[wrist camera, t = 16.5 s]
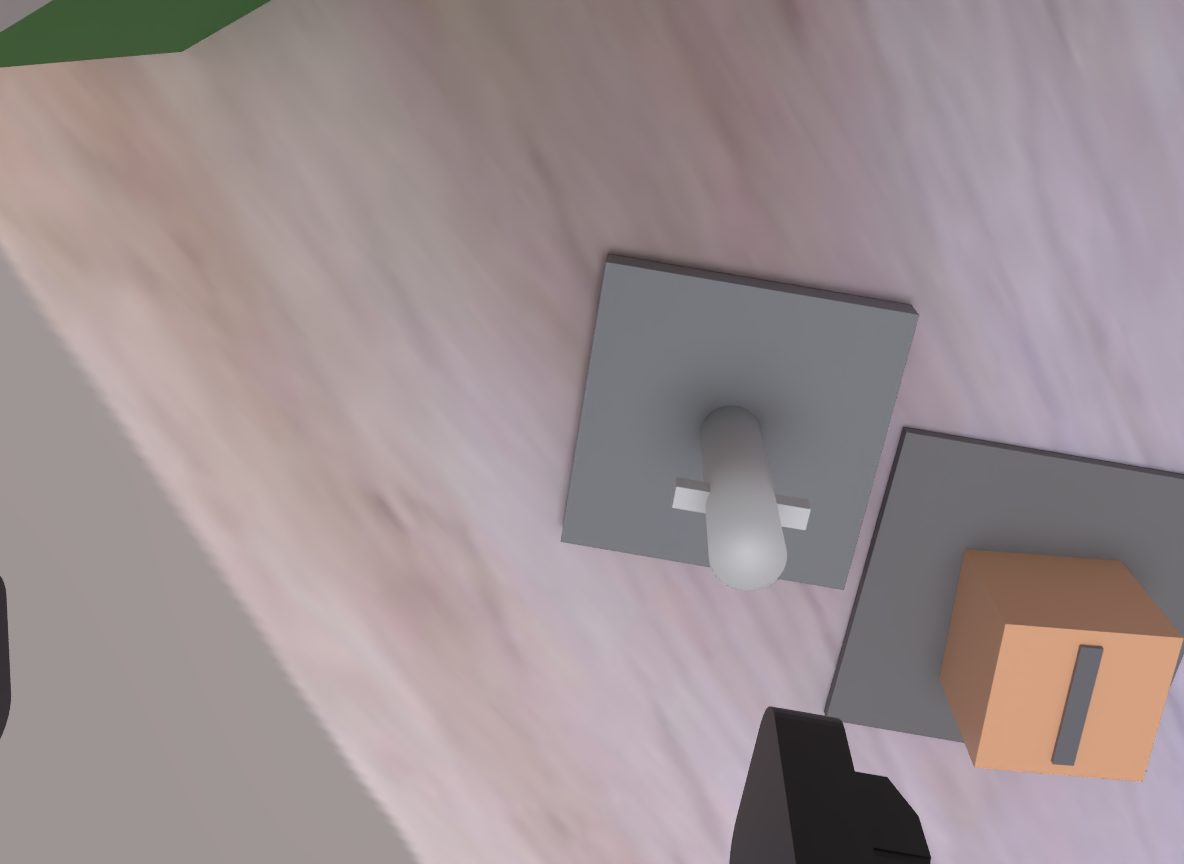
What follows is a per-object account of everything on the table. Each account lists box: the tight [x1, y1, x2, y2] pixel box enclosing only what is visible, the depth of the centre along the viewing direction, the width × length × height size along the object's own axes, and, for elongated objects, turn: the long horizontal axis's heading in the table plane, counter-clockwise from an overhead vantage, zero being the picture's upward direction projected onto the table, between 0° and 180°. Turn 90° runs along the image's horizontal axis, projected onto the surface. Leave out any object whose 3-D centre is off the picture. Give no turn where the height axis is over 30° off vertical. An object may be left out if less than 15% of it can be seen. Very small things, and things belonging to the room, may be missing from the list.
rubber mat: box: [824, 427, 1184, 743], centre depth 47 cm, size 14×14×1 cm
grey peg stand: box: [561, 254, 919, 591], centre depth 40 cm, size 12×12×12 cm
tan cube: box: [939, 549, 1184, 782], centre depth 44 cm, size 6×6×6 cm
